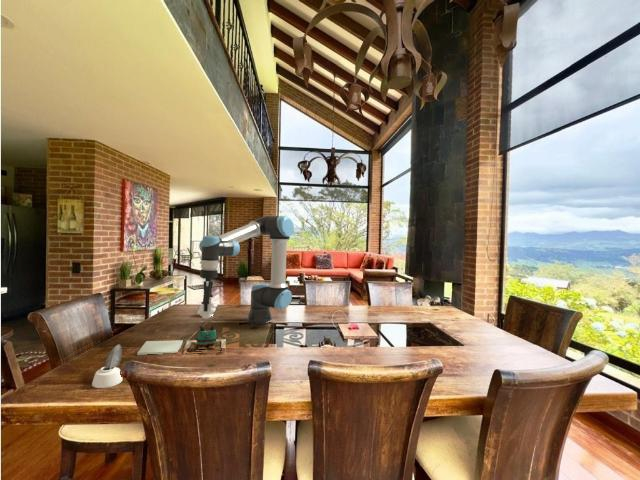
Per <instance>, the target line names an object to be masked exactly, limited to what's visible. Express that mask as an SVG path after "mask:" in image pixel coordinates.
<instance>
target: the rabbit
mask: <svg viewBox="0 0 640 480" xmlns="http://www.w3.org/2000/svg"><path fill="white" fill-rule="evenodd" d="M217 307H218V303H217V301H212V300H211V311H209V318H212V317H214V316H213V315H214V313H215V312H216V310H217V309H216V308H217ZM202 311H203V304H201V305H200V306H199V308H198V310H197V315H199V316H200V317H201V316H202ZM211 316H212V317H211Z"/></svg>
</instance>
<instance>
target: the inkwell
mask: <svg viewBox="0 0 640 480" xmlns="http://www.w3.org/2000/svg"><path fill="white" fill-rule="evenodd" d="M122 348H123V347H122V345H121V344H119V343H118V344H117V345H115V346H114V347H113V348H112V350H110V351H109V353H108V355H107V356H106V360H105V361H104V363H105V364H104V366H103V367H100V369H97V371H95V373H94V376H93V380H92V382H91V386H92V387H94V388H97V389H107V388H112V387H115V386H117V385H119V384H121V383H122V382H123V380H124V379H123V376H122V377H121V375H120V371H121V369H120V367H118V366H119V365H120V362H121V361H122V357H123V356H122V354H123V349H122Z"/></svg>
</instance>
